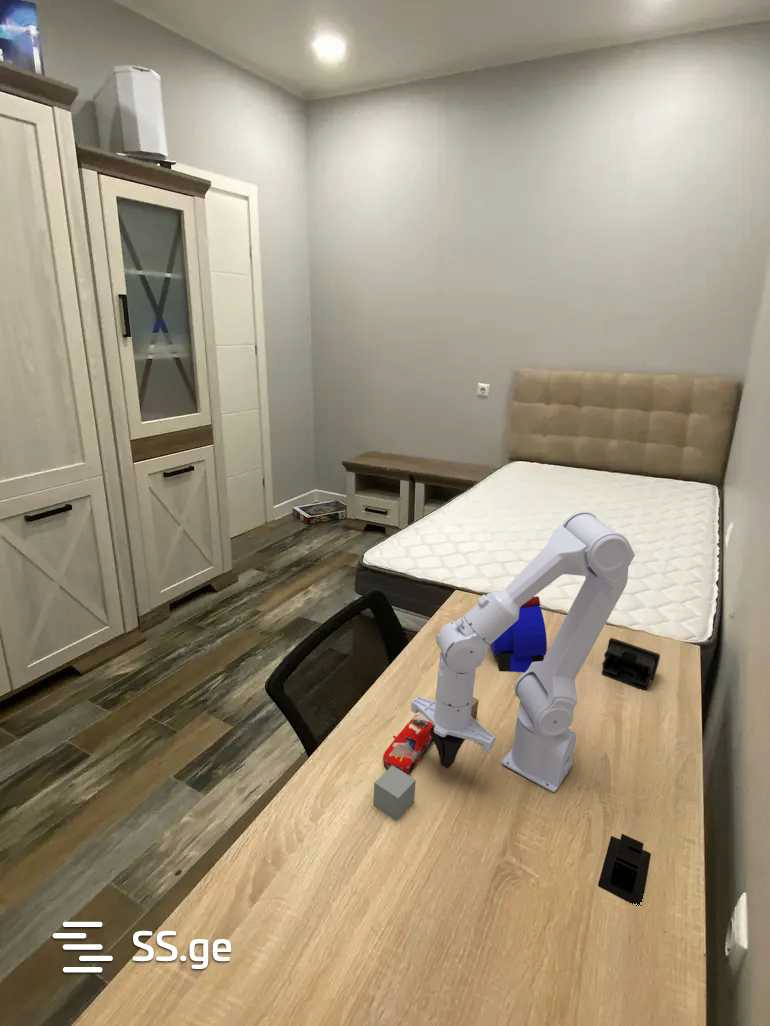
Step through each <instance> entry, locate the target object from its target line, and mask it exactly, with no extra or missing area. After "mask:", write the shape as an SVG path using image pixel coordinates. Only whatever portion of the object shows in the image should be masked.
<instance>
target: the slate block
mask: <svg viewBox="0 0 770 1026" xmlns="http://www.w3.org/2000/svg"><path fill="white" fill-rule="evenodd" d="M416 782H417V779H415V778H414V777H412V776H410V775H409V774H406V773H404V772H402V771H401V770H399V769H398V768H396V767H394V766H393V765H392V766H391V767H390V768H389V769H386V771H385V772H384V773H383V774H381V775H380V777H379V778H378V779H376V780H375V781H374V782H373V804H372V805H373V806H374V807H376V808H377V809H379V810H380V811H381V812H383V813H384V814H386V815H387V816H389V817H390V818H391V819H393V820H394V821H396V822H398V821H399V819H400V818H401V817H402V816H403V815H404V814H405V813H406V811H408V809H410V807H411V806H413V804H414V803H415V799H416V798H415V796H416V795H415V793H416V785H417V784H416Z"/></svg>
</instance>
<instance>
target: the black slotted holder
mask: <svg viewBox="0 0 770 1026" xmlns="http://www.w3.org/2000/svg"><path fill="white" fill-rule="evenodd" d="M603 656H604V661H603V662H602V671H601V676H604V677H607V678H609V679H611V680H614V681H616V682H619V683H622V684H625V685H627V686H630V687H633V688H635V689H637V690H640V689H641V690H640V691H643V690H644V691H643V692H645V690H646V691H647V689H648V688H649V685H650V683H651V682H652V681H653V680H654V679H655V676H656V673H657V670H658V666H659V663H660V660H661V658H660V657H661V654H660V653H658V652H654V651H651V650H650V649H646V648H643V647H640V646H636V645H634V644H632V643H629V642H625V641H622V640H619V639H617V638H613V637H610V638H609V639H608V644H607V650H606V651H605V653H604V654H603ZM647 687H648V688H647Z"/></svg>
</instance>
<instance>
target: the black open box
mask: <svg viewBox="0 0 770 1026" xmlns="http://www.w3.org/2000/svg"><path fill="white" fill-rule="evenodd" d="M644 844H645V843H643V842H641V841H640V840H637V839H635V838H633V837H630V836H628V835H626V834H624V833H621V835H620V838H617V837H616V836H613V835H611V836H610V839H609V843H608V846H607V850H606V854H605V857H604V862H603V864H602V869H601V872H600V876H599V879H598V883H597V887H598V888H599V889H602V890H604V891H607V892H608V893H610V894H612V895H614V896H616V897H617V898H619V899H621V900H623V901H625V902H627V903H629V904H630V905H633V903H634V904H636V903H637V905H638V904H639V905H640V902H643V903H644V898H643V896H645V892H646V888H647V887H646V886H647V881H648V880H647V879H648V874H649V868H650V862H651V856H652V853H651V852H649V851H647V850H645V849H644ZM643 894H644V895H643ZM642 899H643V901H642ZM631 903H632V904H631ZM637 905H636V906H637ZM639 905H638V906H639ZM633 906H634V905H633ZM636 906H635V907H636ZM640 906H641V905H640Z"/></svg>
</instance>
